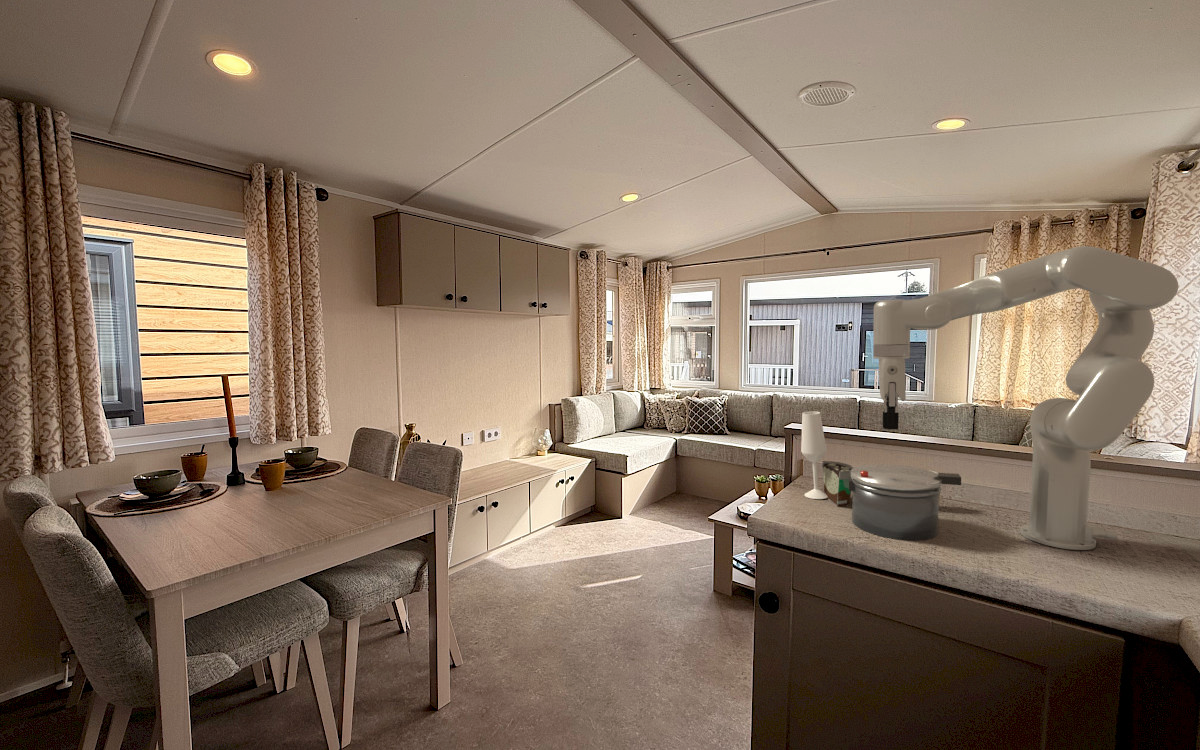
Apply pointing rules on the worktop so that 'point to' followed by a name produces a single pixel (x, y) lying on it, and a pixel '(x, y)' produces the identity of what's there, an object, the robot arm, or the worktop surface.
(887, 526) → the cooker pot
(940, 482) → the cooker lid
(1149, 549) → the worktop surface
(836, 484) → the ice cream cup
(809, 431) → the champagne flute
